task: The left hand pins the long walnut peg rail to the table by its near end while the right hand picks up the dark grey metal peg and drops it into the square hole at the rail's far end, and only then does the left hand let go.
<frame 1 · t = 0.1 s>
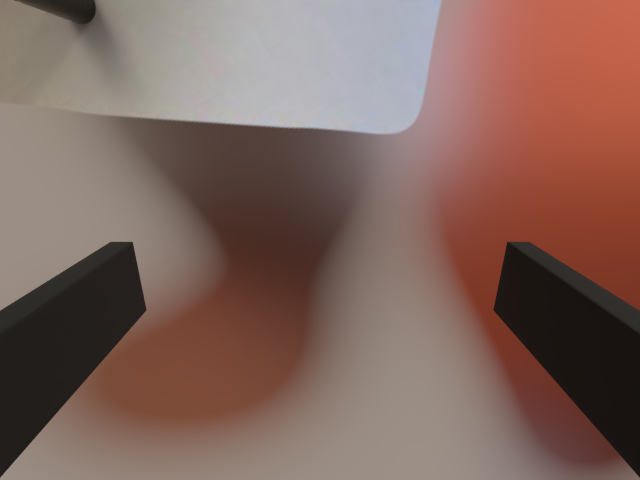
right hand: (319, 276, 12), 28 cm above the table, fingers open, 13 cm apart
peg: (78, 4, 33), on the table
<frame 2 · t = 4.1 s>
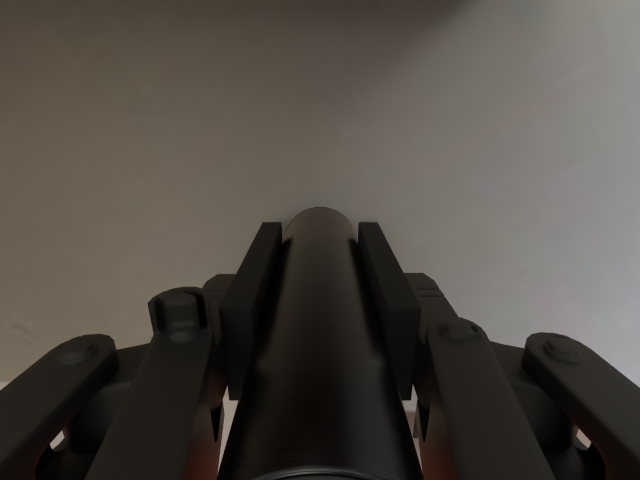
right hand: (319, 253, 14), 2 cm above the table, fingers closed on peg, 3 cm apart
peg: (320, 240, 16), on the table, touching right hand
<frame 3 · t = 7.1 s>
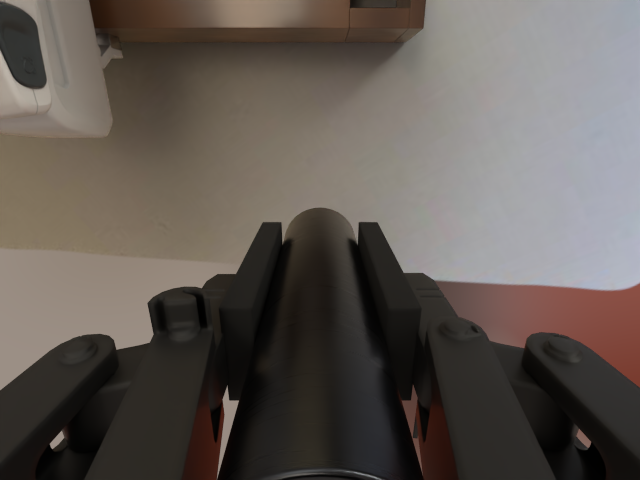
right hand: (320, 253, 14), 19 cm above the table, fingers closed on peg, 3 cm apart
peg: (319, 241, 16), point 17 cm above the table, touching right hand
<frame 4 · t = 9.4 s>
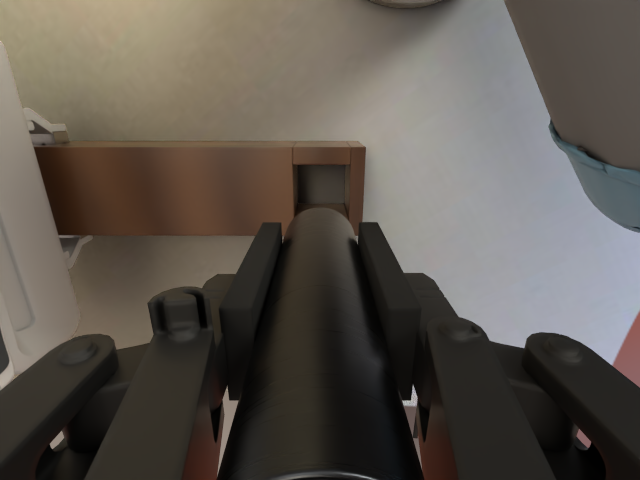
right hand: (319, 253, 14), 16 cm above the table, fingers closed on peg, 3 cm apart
peg rail: (203, 180, 29), on the table, touching left hand
peg: (319, 240, 16), point 14 cm above the table, touching right hand
when the right hand's fingers open (8 cm above the table, at t = 10.9 s): peg drops 7 cm, resting in peg rail.
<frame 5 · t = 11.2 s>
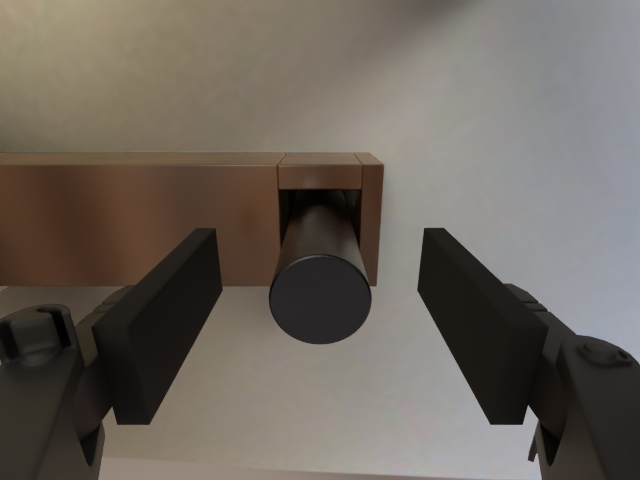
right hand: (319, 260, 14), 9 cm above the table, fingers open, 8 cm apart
peg rail: (162, 204, 22), on the table, touching left hand
peg: (320, 204, 22), resting in peg rail
when the left hand's fingers open (2 cm above the table, at t = 14.7 s): peg rail stays where it is, on the table.
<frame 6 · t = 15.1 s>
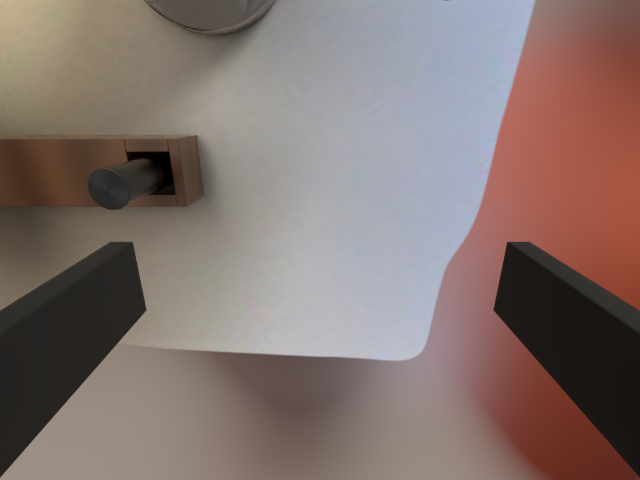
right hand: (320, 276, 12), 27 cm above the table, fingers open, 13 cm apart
peg rail: (80, 165, 37), on the table
peg: (172, 166, 37), resting in peg rail
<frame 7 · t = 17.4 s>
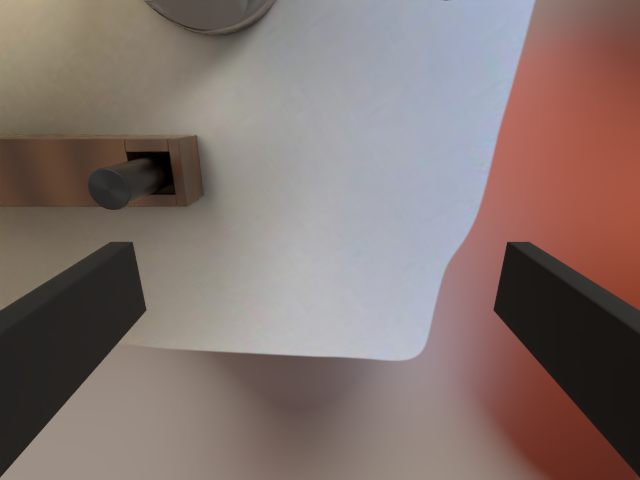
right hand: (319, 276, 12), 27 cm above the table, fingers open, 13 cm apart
peg rail: (80, 165, 37), on the table
peg: (172, 166, 37), resting in peg rail
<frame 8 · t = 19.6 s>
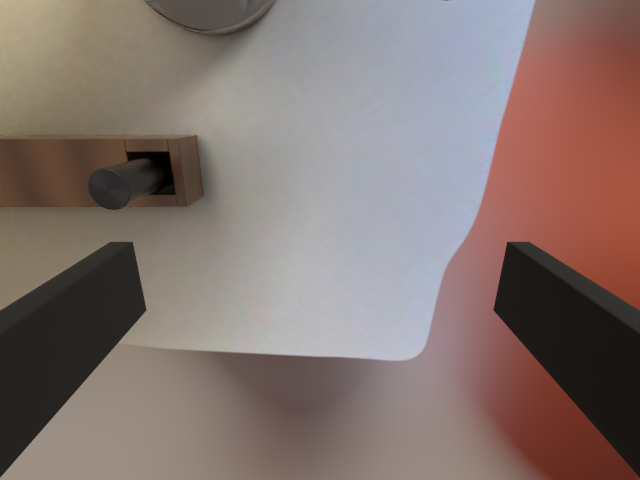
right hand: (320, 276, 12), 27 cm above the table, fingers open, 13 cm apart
peg rail: (80, 165, 37), on the table
peg: (172, 166, 37), resting in peg rail
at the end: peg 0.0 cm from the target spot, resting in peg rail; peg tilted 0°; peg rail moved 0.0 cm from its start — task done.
